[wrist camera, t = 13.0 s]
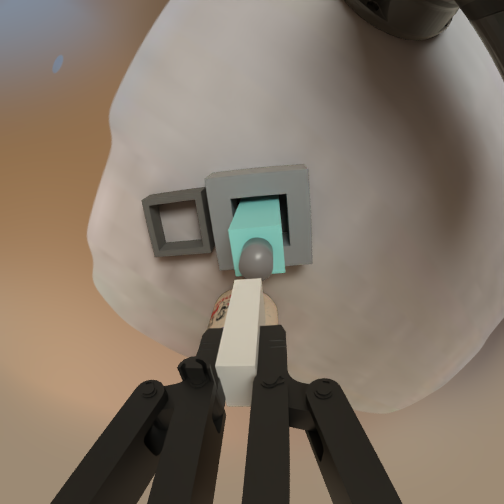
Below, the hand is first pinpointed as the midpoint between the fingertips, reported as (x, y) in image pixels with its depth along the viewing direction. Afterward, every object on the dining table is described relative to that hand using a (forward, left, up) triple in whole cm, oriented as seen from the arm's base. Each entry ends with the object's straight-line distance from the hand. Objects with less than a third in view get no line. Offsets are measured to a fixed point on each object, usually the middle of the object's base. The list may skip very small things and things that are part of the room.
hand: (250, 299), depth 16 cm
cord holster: (+9, 0, -17) cm, 20 cm away
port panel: (0, 0, -17) cm, 17 cm away
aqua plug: (0, 0, -17) cm, 17 cm away
